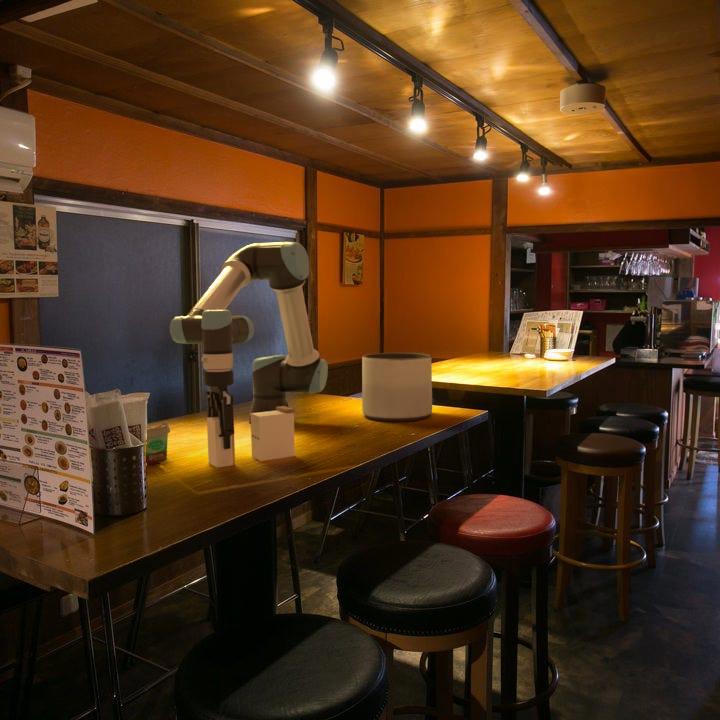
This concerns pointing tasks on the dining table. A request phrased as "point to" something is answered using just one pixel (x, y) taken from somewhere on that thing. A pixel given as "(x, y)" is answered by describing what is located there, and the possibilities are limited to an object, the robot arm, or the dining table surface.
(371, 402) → the planter
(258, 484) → the dining table surface
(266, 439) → the cream rectangular box
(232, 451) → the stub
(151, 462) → the food container
